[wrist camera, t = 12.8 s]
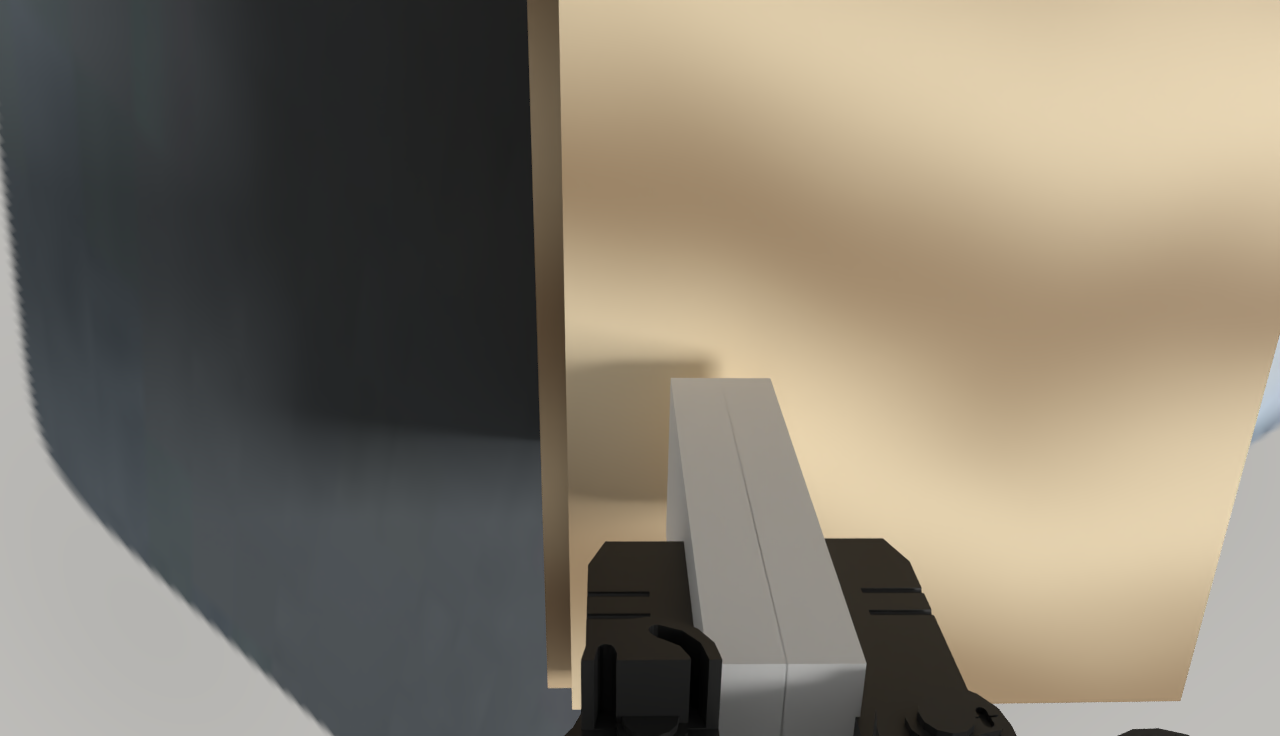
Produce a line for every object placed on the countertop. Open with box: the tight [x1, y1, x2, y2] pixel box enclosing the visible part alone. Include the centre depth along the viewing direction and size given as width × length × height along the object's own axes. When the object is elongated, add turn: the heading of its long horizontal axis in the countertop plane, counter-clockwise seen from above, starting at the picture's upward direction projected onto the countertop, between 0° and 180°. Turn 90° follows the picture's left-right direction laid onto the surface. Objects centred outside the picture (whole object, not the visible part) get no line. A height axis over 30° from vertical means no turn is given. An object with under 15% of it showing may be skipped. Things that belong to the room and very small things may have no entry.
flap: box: [559, 0, 1280, 709], centre depth 16 cm, size 17×11×1 cm, turn 179°
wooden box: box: [527, 0, 572, 688], centre depth 22 cm, size 18×12×10 cm, turn 179°
